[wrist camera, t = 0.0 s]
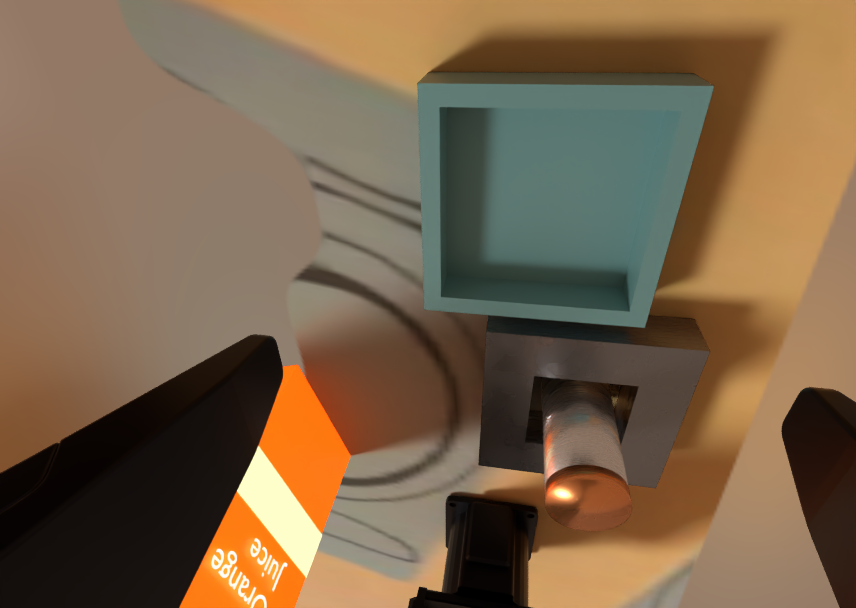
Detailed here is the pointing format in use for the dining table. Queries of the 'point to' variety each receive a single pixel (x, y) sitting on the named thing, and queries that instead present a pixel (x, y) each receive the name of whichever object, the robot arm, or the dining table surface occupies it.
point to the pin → (583, 456)
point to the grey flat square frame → (596, 362)
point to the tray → (553, 190)
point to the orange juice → (275, 508)
